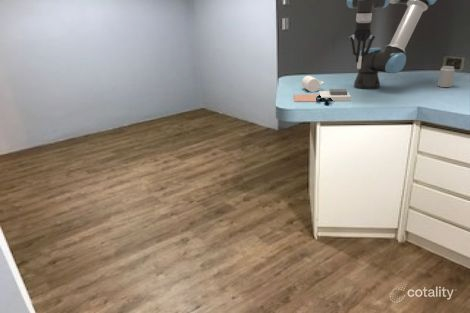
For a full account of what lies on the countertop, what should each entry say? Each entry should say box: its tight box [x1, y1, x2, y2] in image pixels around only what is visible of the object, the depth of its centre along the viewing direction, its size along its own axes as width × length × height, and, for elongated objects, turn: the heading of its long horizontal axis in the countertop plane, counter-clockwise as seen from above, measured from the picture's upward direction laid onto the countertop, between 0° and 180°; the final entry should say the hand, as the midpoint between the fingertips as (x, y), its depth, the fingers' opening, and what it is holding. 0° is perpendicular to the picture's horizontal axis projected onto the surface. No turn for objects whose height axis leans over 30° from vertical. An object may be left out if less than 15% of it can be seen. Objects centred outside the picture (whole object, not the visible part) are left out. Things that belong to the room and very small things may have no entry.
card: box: [328, 88, 348, 95], centre depth 206 cm, size 9×6×2 cm, turn 83°
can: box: [437, 65, 456, 88], centre depth 219 cm, size 8×8×12 cm
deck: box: [318, 90, 352, 102], centre depth 207 cm, size 16×12×2 cm
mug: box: [301, 75, 325, 93], centre depth 226 cm, size 12×10×8 cm
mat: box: [293, 93, 319, 103], centre depth 210 cm, size 14×14×1 cm
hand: (358, 68), depth 200 cm, fingers closed
